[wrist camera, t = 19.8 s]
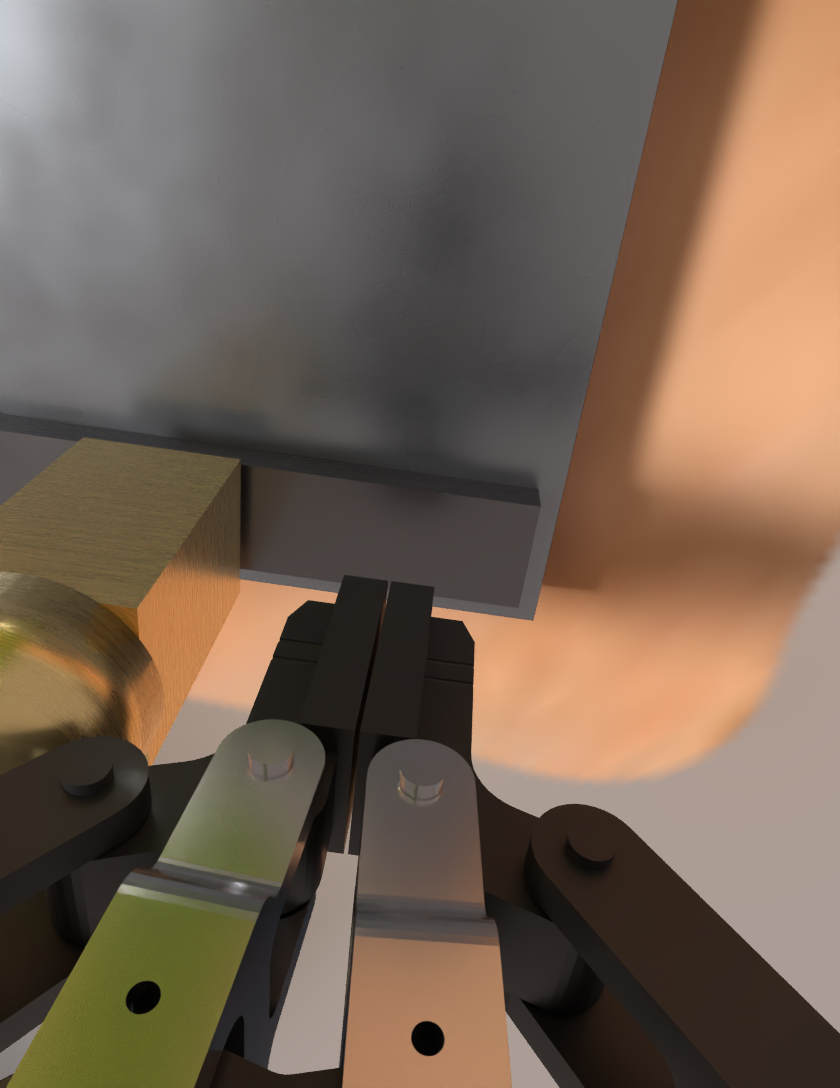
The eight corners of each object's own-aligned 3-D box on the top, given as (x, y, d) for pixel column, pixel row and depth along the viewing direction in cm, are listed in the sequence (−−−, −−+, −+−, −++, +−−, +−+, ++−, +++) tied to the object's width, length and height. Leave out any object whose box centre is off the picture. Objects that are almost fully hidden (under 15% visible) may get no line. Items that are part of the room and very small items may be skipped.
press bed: (-382, -1179, 9) (-644, -1563, 7) (890, -1022, 8) (1013, -1370, 6) (-46, 503, 19) (-109, 550, 17) (530, 584, 19) (534, 642, 17)
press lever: (66, 419, 15) (-233, 646, 9) (256, 446, 15) (91, 692, 9) (84, 581, 16) (-153, 862, 10) (254, 605, 16) (115, 902, 10)
